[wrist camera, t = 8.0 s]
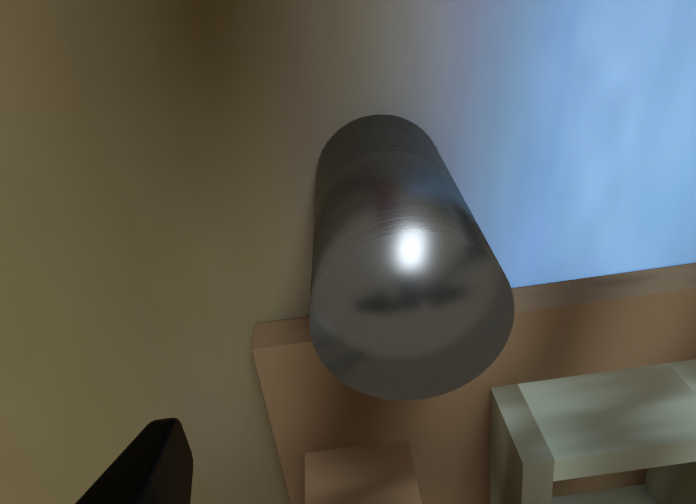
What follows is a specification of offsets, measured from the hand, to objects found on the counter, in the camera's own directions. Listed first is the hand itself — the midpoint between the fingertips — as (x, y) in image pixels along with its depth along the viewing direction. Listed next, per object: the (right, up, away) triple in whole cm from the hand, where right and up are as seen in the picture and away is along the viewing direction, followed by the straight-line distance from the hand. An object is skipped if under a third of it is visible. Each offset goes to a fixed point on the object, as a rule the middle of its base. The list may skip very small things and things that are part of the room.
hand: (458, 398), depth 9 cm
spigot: (-1, +5, +9) cm, 10 cm away
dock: (+6, -5, +15) cm, 17 cm away
